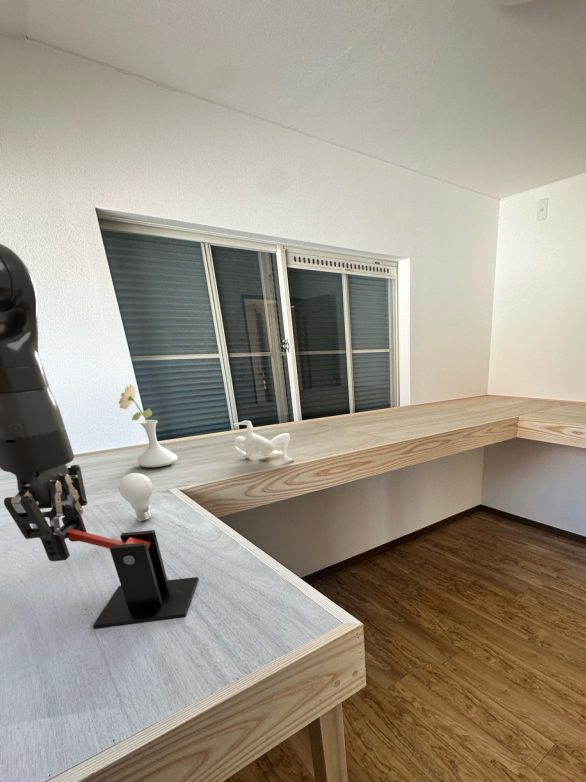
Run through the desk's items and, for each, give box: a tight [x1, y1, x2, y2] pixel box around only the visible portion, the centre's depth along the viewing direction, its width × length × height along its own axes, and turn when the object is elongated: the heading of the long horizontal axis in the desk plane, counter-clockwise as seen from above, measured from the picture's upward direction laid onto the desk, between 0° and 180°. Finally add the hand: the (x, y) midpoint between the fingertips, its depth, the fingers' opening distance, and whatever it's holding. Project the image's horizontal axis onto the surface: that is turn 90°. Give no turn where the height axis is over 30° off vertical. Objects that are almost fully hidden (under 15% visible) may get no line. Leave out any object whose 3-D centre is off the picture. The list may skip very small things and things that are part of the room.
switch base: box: [92, 529, 199, 630], centre depth 61 cm, size 12×10×12 cm
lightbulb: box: [118, 472, 154, 522], centre depth 91 cm, size 6×6×11 cm
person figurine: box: [233, 419, 292, 461], centre depth 134 cm, size 13×13×18 cm
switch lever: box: [60, 520, 151, 550], centre depth 58 cm, size 11×5×2 cm, turn 103°
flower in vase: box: [118, 383, 178, 468], centre depth 126 cm, size 13×11×25 cm
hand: (70, 548), depth 58 cm, fingers closed on switch lever, 5 cm apart
